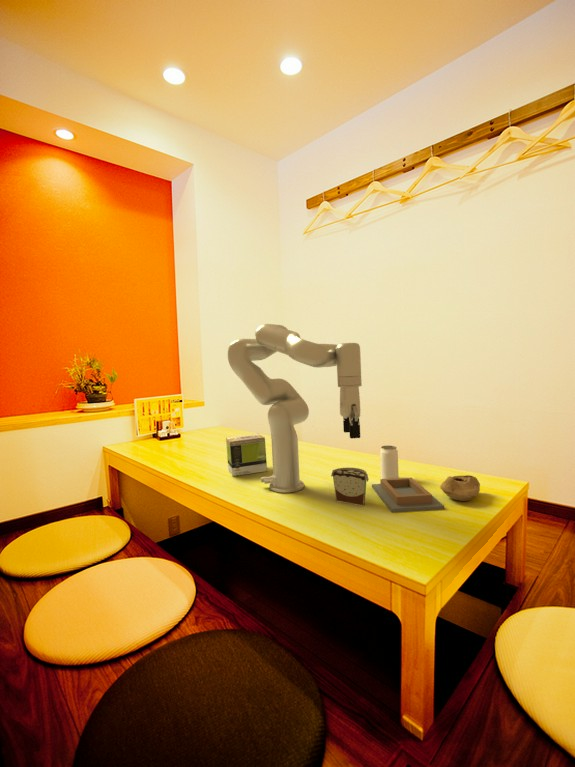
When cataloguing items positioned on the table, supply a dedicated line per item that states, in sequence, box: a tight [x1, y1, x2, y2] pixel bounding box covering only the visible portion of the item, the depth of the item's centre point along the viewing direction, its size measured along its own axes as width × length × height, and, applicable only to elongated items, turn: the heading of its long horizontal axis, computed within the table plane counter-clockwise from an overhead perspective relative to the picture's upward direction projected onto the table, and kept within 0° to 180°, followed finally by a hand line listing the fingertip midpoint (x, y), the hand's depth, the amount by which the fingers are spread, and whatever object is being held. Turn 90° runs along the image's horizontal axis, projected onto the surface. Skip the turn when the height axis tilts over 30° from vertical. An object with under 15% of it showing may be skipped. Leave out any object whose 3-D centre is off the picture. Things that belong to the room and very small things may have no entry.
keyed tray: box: [371, 477, 445, 513], centre depth 122 cm, size 16×22×4 cm
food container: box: [330, 467, 369, 507], centre depth 121 cm, size 12×6×10 cm, turn 58°
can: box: [379, 445, 399, 479], centre depth 141 cm, size 6×6×12 cm
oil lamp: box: [439, 474, 481, 502], centre depth 120 cm, size 11×15×8 cm
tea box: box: [225, 433, 268, 477], centre depth 158 cm, size 15×10×15 cm
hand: (351, 434), depth 120 cm, fingers open, 9 cm apart
